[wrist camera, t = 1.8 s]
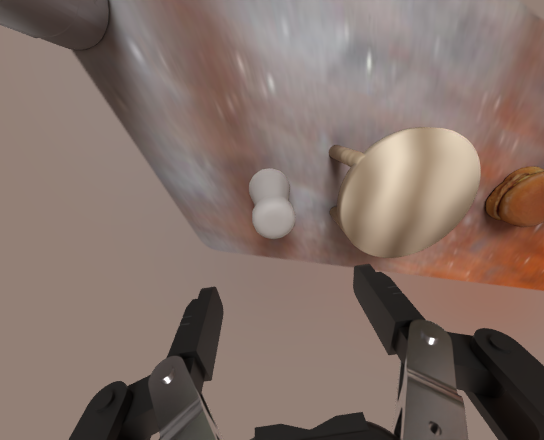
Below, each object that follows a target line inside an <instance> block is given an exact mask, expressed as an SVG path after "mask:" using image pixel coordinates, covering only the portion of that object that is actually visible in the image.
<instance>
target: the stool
mask: <svg viewBox="0 0 544 440" xmlns="http://www.w3.org/2000/svg"><path fill="white" fill-rule="evenodd" d="M329 155H330V156H331V157H332V158H334V159H336V160H338V161H340V162H342V163H344V164H346V165H348V166H350V167H351V168H350V169H349V171H348V173H347V174H346V176H345V178H344V180H343V182H342V185H341V188H340V191H339V195H338V200H337V207H333V208H332V209H331V210H330V215H331V216H332V218H333V219H334V220H335V221H336V223H337V224H338V225H339V227H340V228H341V229H342V231H343V232H344V233H345V234H346V236H347V237H348V238H349V240H350V241H351V242H352V243H353V245H354V246H355V247H357V248H358V249H360V250H361V251H363V252H365V253H367V254H369V255H372V256H376V257H383V258H395V257H402V256H407V255H411V254H414V253H417V252H419V251H422V250H424V249H426V248H428V247H430V246H432V245H433V244H435V243H436V242H438V241H439V240H441V239H442V238H443V237H445V236H446V235H447V234H448V233H449V232H451V231H452V230H453V229H454V228H455V227H456V226H457V225H458V223H459V222H460V221H461V220H462V219H463V217H464V216H465V215H466V213H467V211H468V210H469V208H470V207H471V205H472V203H473V201H474V199H475V196H476V194H477V190H478V187H479V182H480V162H479V158H478V155H477V152H476V150H475V149H474V147H473V145H472V144H471V143H470V142H469V141H468V140H467V139H466V138H465V137H463V136H462V135H460V134H459V133H456V132H454V131H452V130H448V129H443V128H428V127H417V128H409V129H405V130H401V131H398V132H395V133H392V134H390V135H388V136H386V137H384V138H382V139H381V140H379V141H378V142H376V143H375V144H373V145H372V146H371V147H369V148H368V149H367V150H366V151H365V152H364V153H361V152H358V151H355V150H352V149H348V148H345V147H342V146H339V145H334V146H332V147H331V148H330V150H329Z"/></svg>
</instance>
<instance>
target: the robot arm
mask: <svg viewBox="0 0 544 440" xmlns="http://www.w3.org/2000/svg"><path fill="white" fill-rule="evenodd" d="M108 17H109V8H108V0H0V25H2V26H4V27H7V28H10V29H13V30H15V31H18V32H21V33H23V34H26V35H29V36H31V37H34V38H41V39H44V40H46V41H49V42H52V43H54V44H57V45H60V46H63V47H65V48H68V49H75V50H82V49H88V48H90V47H92V46H94V45H96V44H97V43H98V42H99V41H100V40H101V39H102V37H103V35H104V33H105V32H106V28H107V25H108ZM353 281H354V282H353V288H354V293H355V295H356V297H357V299H358V301H359V303H360V305H361V306H362V308H363V310H364V312H365V314H366V315H367V317H368V319H369V321H370V323H371V324H372V326H373V328H374V330H375V331H376V333H377V335H378V337H379V339H380V341H381V342H382V344H383V346H384V348H385V350H386V351H387V353H388V355H394V354H397V355H398V357H399V358H400V360H401V362H400V369H399V379H398V389H397V398H396V407H395V413H394V419H393V426H392V433H391V432H390V431H388V430H387V429H385V428H383V427H381V426H379V425H377V424H374V423H371V422H368V421H366V420H365V418H364V415H363V412H359V413H352V414H346V415H339V416H335V417H333V418H331V419H329V420H328V421H326V422H324V423H323V424H320V425H319V426H317V427H315V428H313V429H310V430H308V429H302V428H298V427H294V426H289V425H284V424H277V425H270V426H263V427H256V428H255V437H254V438H252V439H250V440H468V432H467V424H466V415H465V407H464V402H463V399H462V397H461V396H459V395H458V394H457V389H459V390H463V391H464V392H465V393H466V394H467V396H468V397H469V399H470V400H471V402H472V403H473V404H474V406H475V407H476V409H477V410H478V411H479V413H480V414H481V416H482V417H483V418H484V420H485V421H486V423H487V424H488V425H489V427H490V428H491V430H492V431H493V433H494V434H495V436H496V437H497V438H498V440H544V366H543V365H542V364H541V363H540V362H539V361H538V360H537V359H536V358H534V357H533V356H532V355H531V354H530V353H529V352H528V351H527V350H526V349H525V348H523V347H522V346H521V345H520V344H519V343H518V342H516V341H515V340H514V339H512V338H511V337H509V336H508V335H506V334H504V333H502V332H499V331H496V330H493V329H487V328H482V329H478V330H477V331H476V332H475V333H474V335H473V336H470V335H464V334H457V333H451V332H446V331H445V330H444V329H443V328H442V327H440V326H439V325H437V324H435V323H433V322H431V321H427V320H425V318H424V317H423V316H422V315H421V314H420V313H419V312H418V310H417V309H416V308H415V307H414V306H413V304H412V303H411V302H410V301H409V300H408V298H407V297H406V296H405V295H404V294H403V293H402V291H401V290H400V289H399V288H398V287H397V286H396V284H395V283H394V282H393V281H392V280H391V278H390V277H388V276H386V275H385V274H384V273H382V272H375V270H374V269H373V268H372V266H371V265H370V264H365V265H358V266H355V267H354V280H353ZM222 319H223V305H222V302H221V299H220V297H219V294H218V291H217V289H216V287H210V288H202V289H201V291H200V294H199V296H198V299H193V300H192V301H191V302H190V304H189V305H188V306H187V307H186V310H185V312H184V315H183V318H182V320H181V322H180V326H179V328H178V330H177V333H176V335H175V338H174V341H173V343H172V346H171V348H170V351H169V354H168V356H167V358H166V359H164V360H163V361H162V362H160V363H159V364H158V365H157V366H156V367H155V369H154V370H153V372H152V374H151V375H149V376H148V377H145V378H143V379H141V380H139V381H137V382H135V383H133V384H131V385H129V386H127V385H126V384H125V383H124V382H122V381H116V382H113V383H111V384H109V385H107V386H105V387H104V388H103V389H101V391H99V392H98V393H97V394H96V395H95V396H94V397H93V399H92V400H91V401H90V403H89V404H88V406H87V408H86V410H85V411H84V413H83V415H82V417H81V418H80V420H79V422H78V424H77V426H76V427H75V429H74V431H73V433H72V434H71V436H70V438H69V440H150V438H151V435H153V434H155V433H157V432H160V439H159V440H224V439H223V437H222V435H221V433H220V431H219V429H218V427H217V425H216V422H215V420H214V418H213V416H212V414H211V411H210V409H209V407H208V405H207V403H206V400H205V398H204V396H203V394H202V387H203V382H204V381H211V380H212V375H213V369H214V363H215V358H216V352H217V347H218V341H219V336H220V330H221V325H222Z"/></svg>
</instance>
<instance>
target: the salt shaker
mask: <svg viewBox="0 0 544 440" xmlns="http://www.w3.org/2000/svg"><path fill="white" fill-rule="evenodd" d="M289 192H290V184H289V182H288V179H287V177H286V176H285V175H284V174H283V173H282V172H281V171H279V170H275V169H272V168H269V169H263V170H260V171H259V172H258V173H256V174H255V175H254V176H253V178H252V180H251V181H250V183H249V194H250V196H251V198H252V200H253V202H254V205H255V207H254V209H253V213H252V222H253V225H254V227H255V229H256V231H257V232H258V233H259V234H260V235H262V236H263V237H266V238H270V239H277V238H282V237H284V236H285V235H287V234H289V233H290V231H291V230H292V228H293V227H294V224H295V215H296V214H295V212H294V209H293V207H292V205H291V203H289V202H288V200H289Z"/></svg>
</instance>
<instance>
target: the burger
mask: <svg viewBox="0 0 544 440" xmlns="http://www.w3.org/2000/svg"><path fill="white" fill-rule="evenodd" d="M486 211H487V213H488V214H489V215H490V216H491V217H493V218H494V219H496V220H503V221H505V222H507V223H510V224H512V225H515V226H519V227H531V226H535V225H538V224H540V223H543V222H544V170H543V169H541V168H539V167H535V166H534V167H525V168H521V169H518V170H516V171H514V172H513V173H512V174H510V175H509V176H508V177H507V178H506V179H505V180H504V182H503V183H502V184H500V185H499V186H498V187H496V188H495V190H494V191H493V192H492V194H491V196H489V198H488V199H487V202H486Z"/></svg>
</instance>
